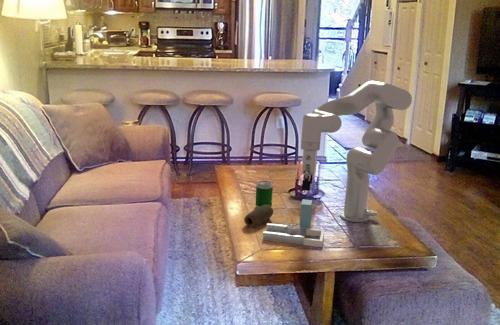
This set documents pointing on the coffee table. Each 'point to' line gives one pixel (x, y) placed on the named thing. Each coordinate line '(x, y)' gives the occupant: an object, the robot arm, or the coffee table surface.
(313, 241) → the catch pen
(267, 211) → the brown hollow cylinder
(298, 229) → the die
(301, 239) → the slot rails
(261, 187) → the soda can
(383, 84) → the robot arm
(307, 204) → the block
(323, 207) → the coffee table surface
